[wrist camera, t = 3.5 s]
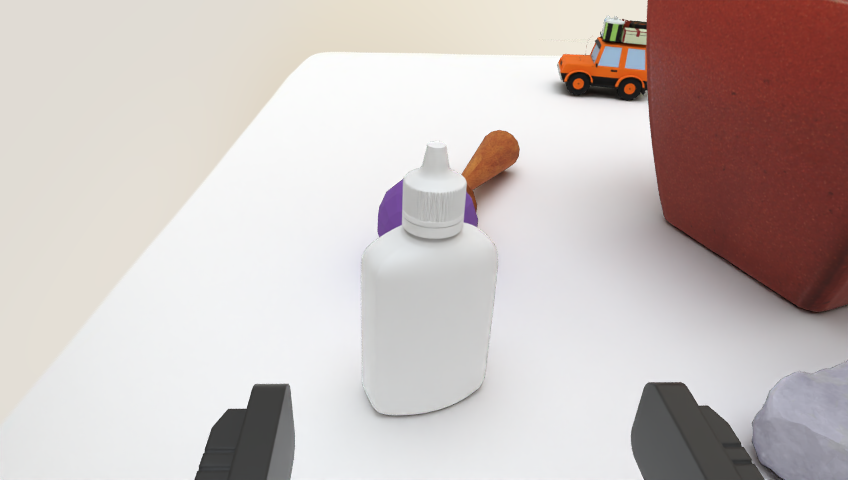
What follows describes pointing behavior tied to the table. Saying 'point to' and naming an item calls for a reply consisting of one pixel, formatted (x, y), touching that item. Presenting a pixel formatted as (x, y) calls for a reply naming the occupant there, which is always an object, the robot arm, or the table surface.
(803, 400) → the stone block
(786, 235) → the flower pot
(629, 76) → the toy car
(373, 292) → the eye dropper bottle
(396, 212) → the purple maraca
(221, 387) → the table surface
